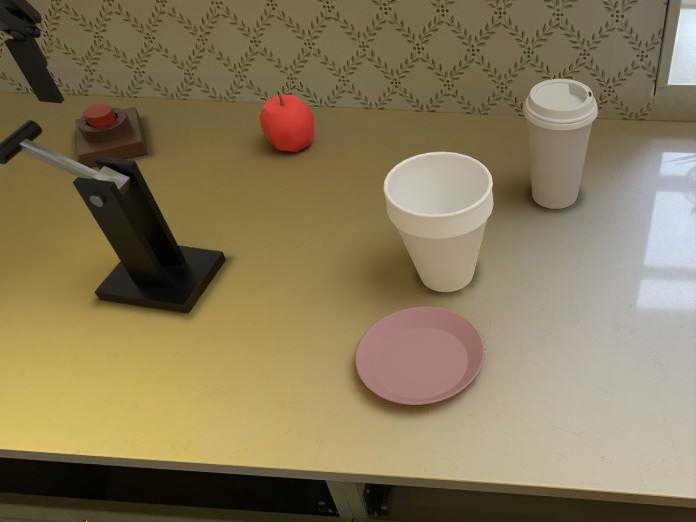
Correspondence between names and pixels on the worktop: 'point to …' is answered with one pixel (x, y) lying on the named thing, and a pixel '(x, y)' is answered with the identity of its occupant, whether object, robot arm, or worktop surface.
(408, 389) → the plate
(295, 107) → the apple
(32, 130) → the lever
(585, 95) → the coffee cup
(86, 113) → the button
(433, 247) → the cup
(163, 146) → the worktop surface
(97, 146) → the button block
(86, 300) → the worktop surface
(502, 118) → the worktop surface
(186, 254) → the bracket
